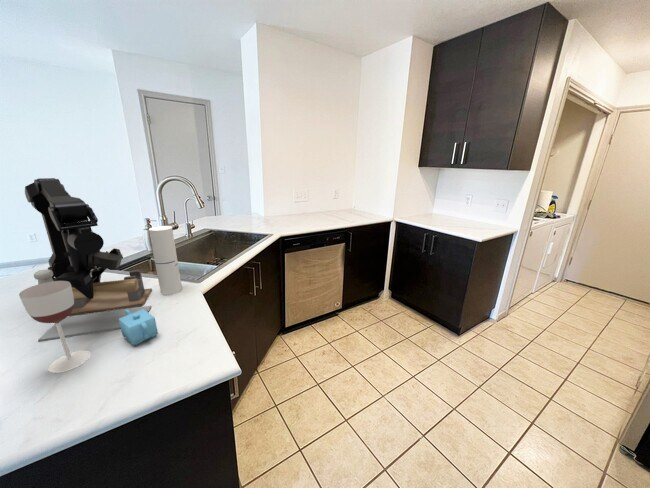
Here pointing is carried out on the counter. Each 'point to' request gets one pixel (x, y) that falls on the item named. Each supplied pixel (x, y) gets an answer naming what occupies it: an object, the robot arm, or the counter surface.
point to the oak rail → (110, 288)
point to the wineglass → (54, 316)
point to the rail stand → (113, 299)
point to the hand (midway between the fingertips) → (93, 295)
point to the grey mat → (89, 323)
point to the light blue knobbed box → (138, 326)
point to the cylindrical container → (165, 259)
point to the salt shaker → (44, 276)
